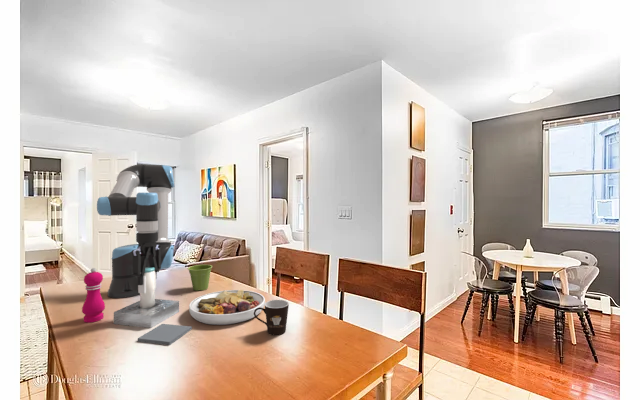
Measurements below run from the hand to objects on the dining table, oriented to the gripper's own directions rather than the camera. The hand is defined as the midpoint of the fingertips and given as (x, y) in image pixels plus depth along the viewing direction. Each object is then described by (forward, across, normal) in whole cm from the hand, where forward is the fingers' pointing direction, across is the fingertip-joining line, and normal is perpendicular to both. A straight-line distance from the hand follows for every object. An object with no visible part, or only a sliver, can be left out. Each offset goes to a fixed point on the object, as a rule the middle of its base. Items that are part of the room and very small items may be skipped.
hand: (147, 290), depth 124 cm
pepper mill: (+11, +6, -19) cm, 23 cm away
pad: (+11, +12, +17) cm, 24 cm away
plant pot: (+11, -38, -1) cm, 40 cm away
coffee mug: (+11, +1, +52) cm, 54 cm away
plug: (+6, 0, 0) cm, 6 cm away
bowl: (+11, -12, +28) cm, 33 cm away
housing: (+11, 0, 0) cm, 11 cm away
